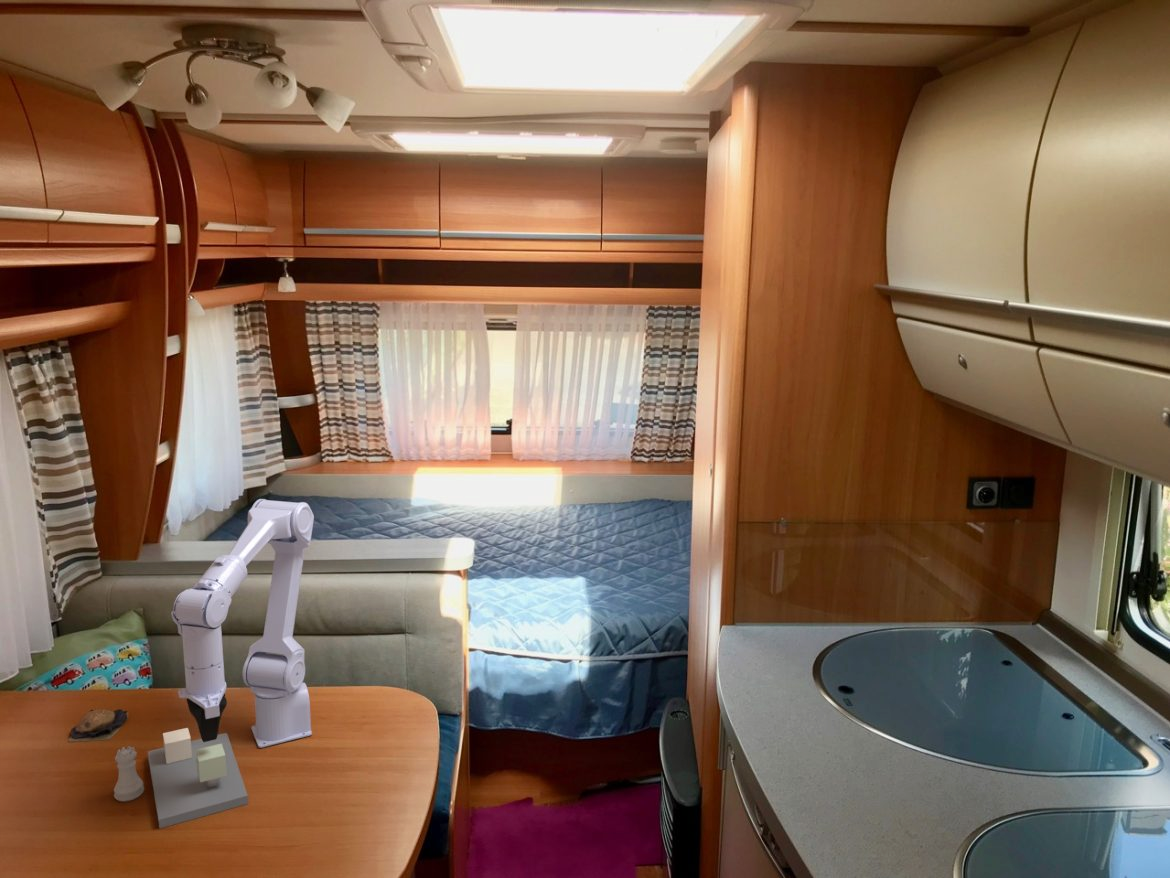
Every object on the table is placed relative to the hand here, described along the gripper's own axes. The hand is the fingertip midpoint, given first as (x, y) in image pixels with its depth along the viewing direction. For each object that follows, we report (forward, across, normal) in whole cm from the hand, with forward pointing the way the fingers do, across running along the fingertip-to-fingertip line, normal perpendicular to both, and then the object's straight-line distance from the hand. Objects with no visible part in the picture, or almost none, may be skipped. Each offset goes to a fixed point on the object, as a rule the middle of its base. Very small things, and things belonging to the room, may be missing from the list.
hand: (209, 738), depth 140 cm
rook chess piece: (+10, -6, -12) cm, 17 cm away
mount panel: (+10, -5, -2) cm, 11 cm away
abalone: (+10, -32, -16) cm, 37 cm away
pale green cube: (+6, 0, 0) cm, 6 cm away
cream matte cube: (+8, -12, -4) cm, 15 cm away
